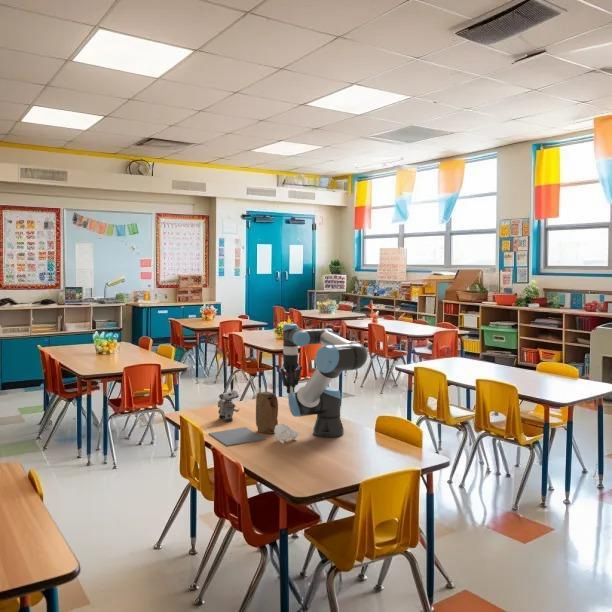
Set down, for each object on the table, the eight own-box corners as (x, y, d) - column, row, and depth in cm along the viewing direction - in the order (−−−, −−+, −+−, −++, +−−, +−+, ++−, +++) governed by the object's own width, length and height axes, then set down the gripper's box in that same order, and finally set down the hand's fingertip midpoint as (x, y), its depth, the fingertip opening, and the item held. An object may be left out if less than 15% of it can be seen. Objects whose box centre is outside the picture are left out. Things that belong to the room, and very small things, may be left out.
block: (254, 431, 301) (254, 392, 300) (264, 428, 307) (264, 389, 306) (270, 435, 295) (270, 395, 293) (280, 431, 301) (280, 392, 299)
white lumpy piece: (273, 422, 286) (296, 422, 291) (271, 440, 287) (294, 439, 292) (278, 426, 280) (301, 425, 285) (276, 443, 281) (299, 443, 286)
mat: (265, 439, 288) (265, 438, 288) (227, 446, 278) (227, 445, 278) (245, 428, 307) (245, 427, 307) (208, 434, 296) (208, 433, 296)
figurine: (242, 419, 323) (242, 392, 322) (222, 422, 317) (222, 394, 316) (235, 415, 331) (235, 389, 329) (216, 418, 325) (215, 391, 323)
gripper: (297, 351, 311) (297, 396, 314) (275, 354, 305) (275, 399, 307) (305, 353, 305) (305, 399, 307) (283, 356, 298) (283, 402, 300)
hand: (290, 399), depth 307 cm, fingers closed
